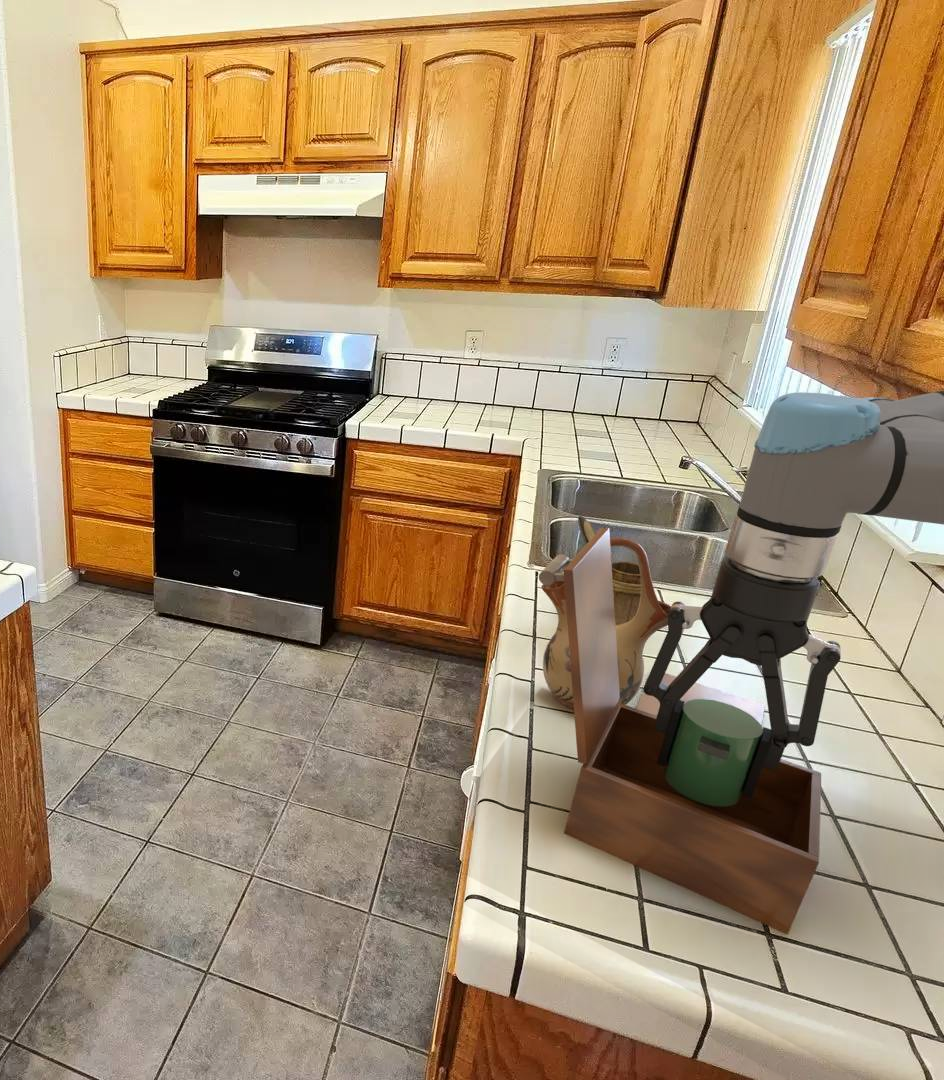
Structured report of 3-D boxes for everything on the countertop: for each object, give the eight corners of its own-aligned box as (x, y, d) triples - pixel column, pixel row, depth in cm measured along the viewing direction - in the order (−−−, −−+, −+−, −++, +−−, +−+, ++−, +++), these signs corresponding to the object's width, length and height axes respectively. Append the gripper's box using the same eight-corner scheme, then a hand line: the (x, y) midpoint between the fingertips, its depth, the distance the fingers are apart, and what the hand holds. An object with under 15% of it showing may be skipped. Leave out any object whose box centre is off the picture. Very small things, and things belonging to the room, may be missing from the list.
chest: (792, 843, 81) (821, 772, 77) (785, 940, 69) (819, 862, 65) (597, 765, 91) (615, 700, 88) (562, 838, 80) (581, 767, 76)
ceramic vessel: (649, 709, 103) (699, 540, 94) (647, 744, 96) (701, 564, 86) (524, 674, 110) (559, 514, 101) (513, 704, 103) (550, 534, 94)
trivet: (763, 708, 105) (765, 704, 104) (756, 757, 94) (757, 753, 94) (652, 672, 112) (653, 669, 112) (633, 714, 102) (634, 710, 102)
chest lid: (609, 527, 83) (564, 527, 86) (572, 570, 71) (522, 568, 74) (620, 697, 87) (577, 692, 90) (586, 764, 76) (538, 755, 79)
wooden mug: (562, 604, 133) (584, 508, 126) (647, 627, 126) (675, 527, 119) (549, 622, 126) (572, 522, 120) (639, 648, 119) (668, 543, 113)
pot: (744, 773, 79) (766, 709, 76) (735, 825, 72) (759, 755, 69) (671, 748, 83) (690, 685, 80) (655, 794, 76) (675, 727, 73)
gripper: (643, 551, 71) (591, 752, 79) (916, 614, 60) (823, 840, 68) (657, 530, 77) (608, 720, 85) (909, 584, 66) (824, 796, 74)
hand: (704, 773), depth 77 cm, fingers closed on pot, 7 cm apart
